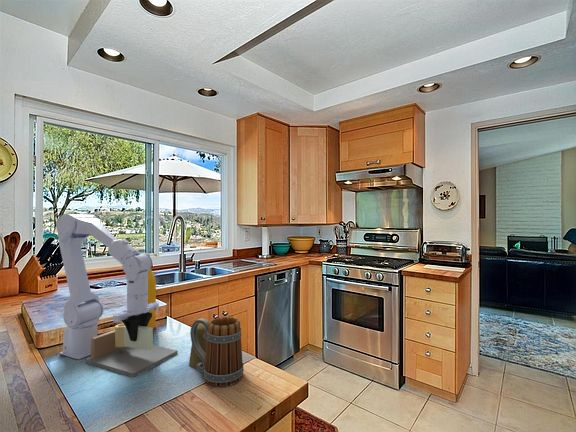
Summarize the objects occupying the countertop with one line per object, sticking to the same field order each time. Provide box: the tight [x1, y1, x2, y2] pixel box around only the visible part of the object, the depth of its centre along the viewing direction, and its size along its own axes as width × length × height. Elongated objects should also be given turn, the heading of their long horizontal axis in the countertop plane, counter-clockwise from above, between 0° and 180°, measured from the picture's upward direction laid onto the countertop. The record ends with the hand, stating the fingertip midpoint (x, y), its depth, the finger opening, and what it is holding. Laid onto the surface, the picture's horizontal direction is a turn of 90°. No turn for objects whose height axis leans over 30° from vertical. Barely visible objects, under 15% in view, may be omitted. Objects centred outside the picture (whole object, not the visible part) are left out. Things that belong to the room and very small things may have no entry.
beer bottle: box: [147, 253, 157, 330], centre depth 118 cm, size 9×9×29 cm
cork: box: [188, 324, 207, 369], centre depth 90 cm, size 6×6×11 cm
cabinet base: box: [85, 329, 178, 378], centre depth 93 cm, size 20×16×7 cm
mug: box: [189, 316, 245, 388], centre depth 83 cm, size 16×11×15 cm
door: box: [114, 322, 154, 350], centre depth 93 cm, size 14×4×6 cm, turn 66°
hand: (137, 339), depth 92 cm, fingers closed on door, 2 cm apart
